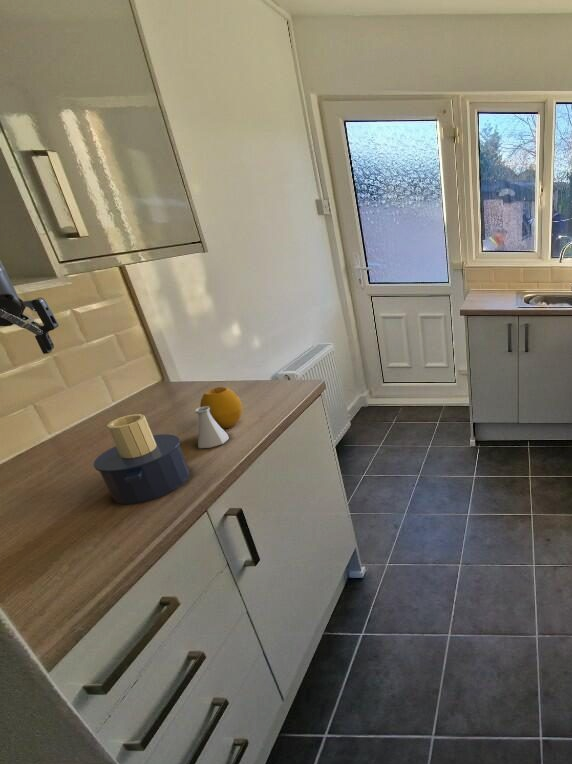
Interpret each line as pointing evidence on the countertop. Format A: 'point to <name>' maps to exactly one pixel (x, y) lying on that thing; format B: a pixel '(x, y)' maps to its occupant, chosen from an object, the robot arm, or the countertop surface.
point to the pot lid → (116, 463)
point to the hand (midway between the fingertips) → (17, 356)
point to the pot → (148, 479)
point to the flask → (209, 429)
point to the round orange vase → (223, 406)
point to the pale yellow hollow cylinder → (132, 436)
